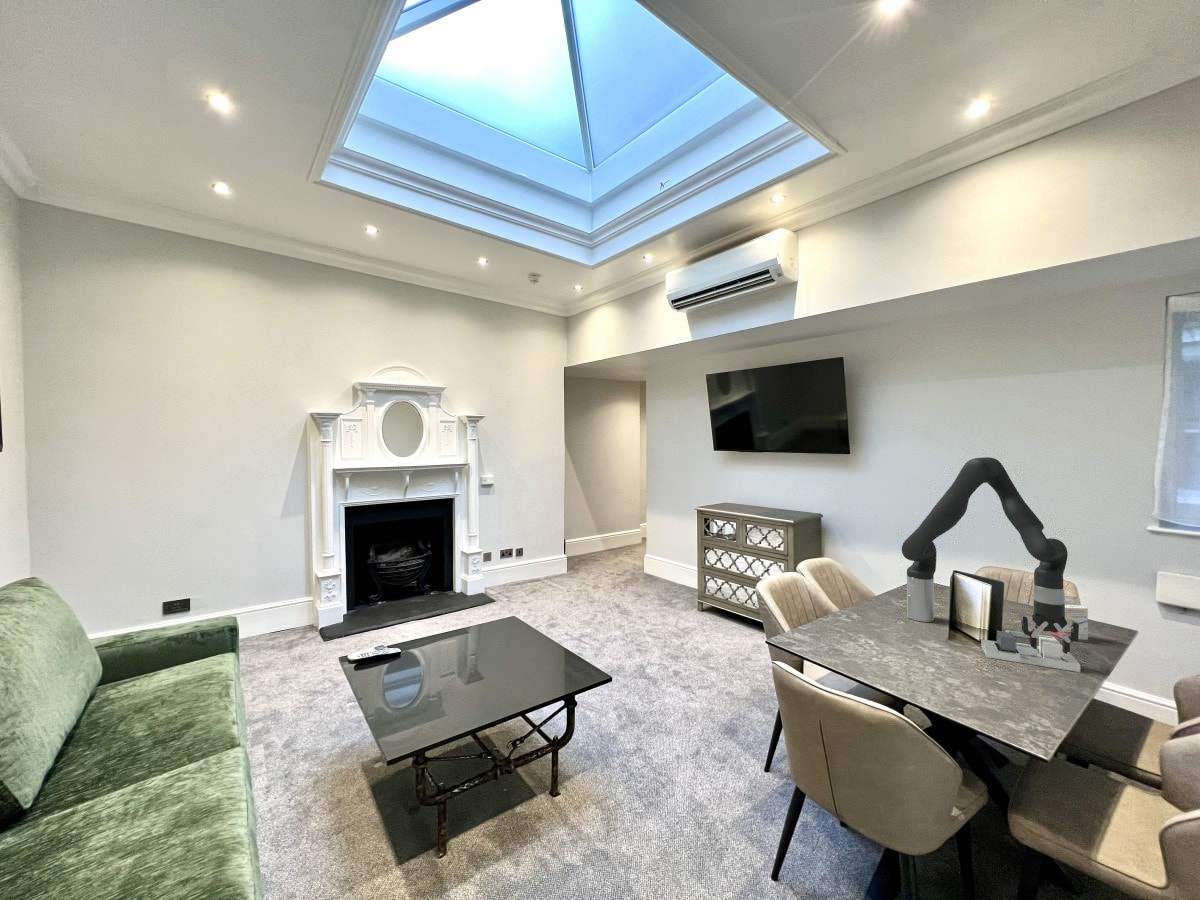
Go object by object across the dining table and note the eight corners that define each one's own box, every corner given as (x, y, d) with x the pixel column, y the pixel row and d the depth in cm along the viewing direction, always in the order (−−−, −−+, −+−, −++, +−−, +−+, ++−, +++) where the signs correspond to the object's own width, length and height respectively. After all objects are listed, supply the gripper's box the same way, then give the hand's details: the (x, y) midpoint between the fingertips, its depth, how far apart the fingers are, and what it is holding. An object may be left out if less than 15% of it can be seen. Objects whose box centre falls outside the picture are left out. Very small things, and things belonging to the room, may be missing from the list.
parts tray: (1014, 647, 168) (1014, 643, 168) (1005, 634, 180) (1005, 630, 180) (1066, 655, 162) (1066, 650, 162) (1053, 640, 173) (1053, 636, 173)
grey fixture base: (986, 657, 161) (986, 636, 161) (981, 646, 170) (981, 626, 170) (1080, 672, 149) (1080, 649, 149) (1069, 659, 158) (1069, 638, 158)
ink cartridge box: (1063, 639, 174) (1062, 599, 174) (1051, 634, 179) (1051, 595, 179) (1089, 640, 173) (1088, 599, 173) (1076, 634, 178) (1076, 595, 178)
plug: (1044, 664, 155) (1043, 642, 155) (1039, 657, 160) (1038, 636, 160) (1060, 667, 153) (1060, 645, 153) (1055, 659, 158) (1054, 638, 158)
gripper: (1023, 600, 157) (1023, 650, 157) (1083, 606, 150) (1083, 659, 150) (1017, 593, 164) (1018, 642, 164) (1074, 600, 156) (1075, 650, 156)
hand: (1049, 650), depth 157 cm, fingers open, 7 cm apart
